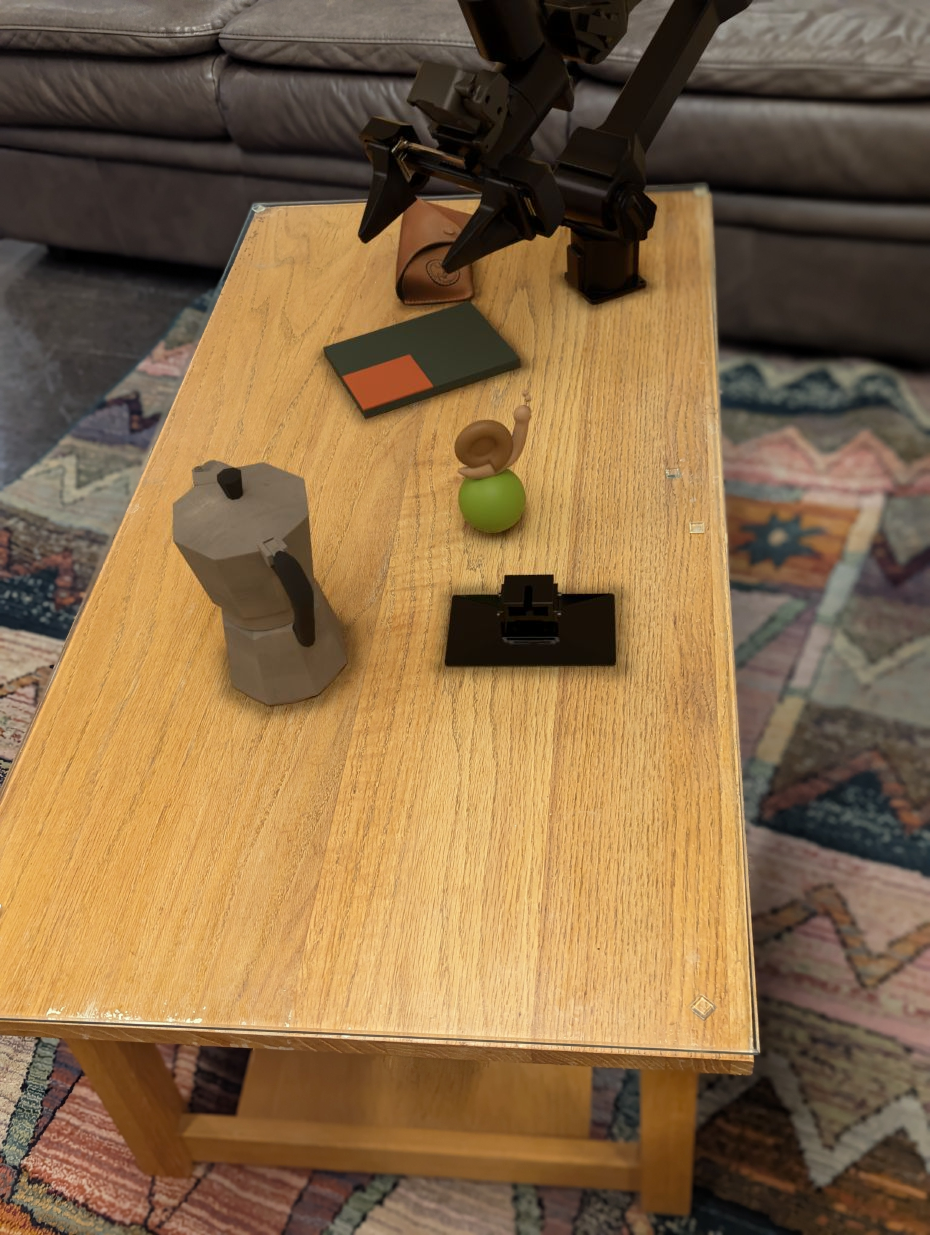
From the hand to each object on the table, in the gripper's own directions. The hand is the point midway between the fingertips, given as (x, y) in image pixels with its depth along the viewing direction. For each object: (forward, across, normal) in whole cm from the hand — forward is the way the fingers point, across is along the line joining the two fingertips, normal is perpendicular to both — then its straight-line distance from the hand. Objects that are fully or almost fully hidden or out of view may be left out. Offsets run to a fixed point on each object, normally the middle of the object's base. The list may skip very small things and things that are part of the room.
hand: (401, 254), depth 87 cm
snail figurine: (+13, +14, +13) cm, 23 cm away
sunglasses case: (-14, -18, +24) cm, 33 cm away
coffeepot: (+32, +12, +4) cm, 35 cm away
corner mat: (0, -7, +18) cm, 19 cm away
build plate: (+20, +24, +10) cm, 33 cm away
